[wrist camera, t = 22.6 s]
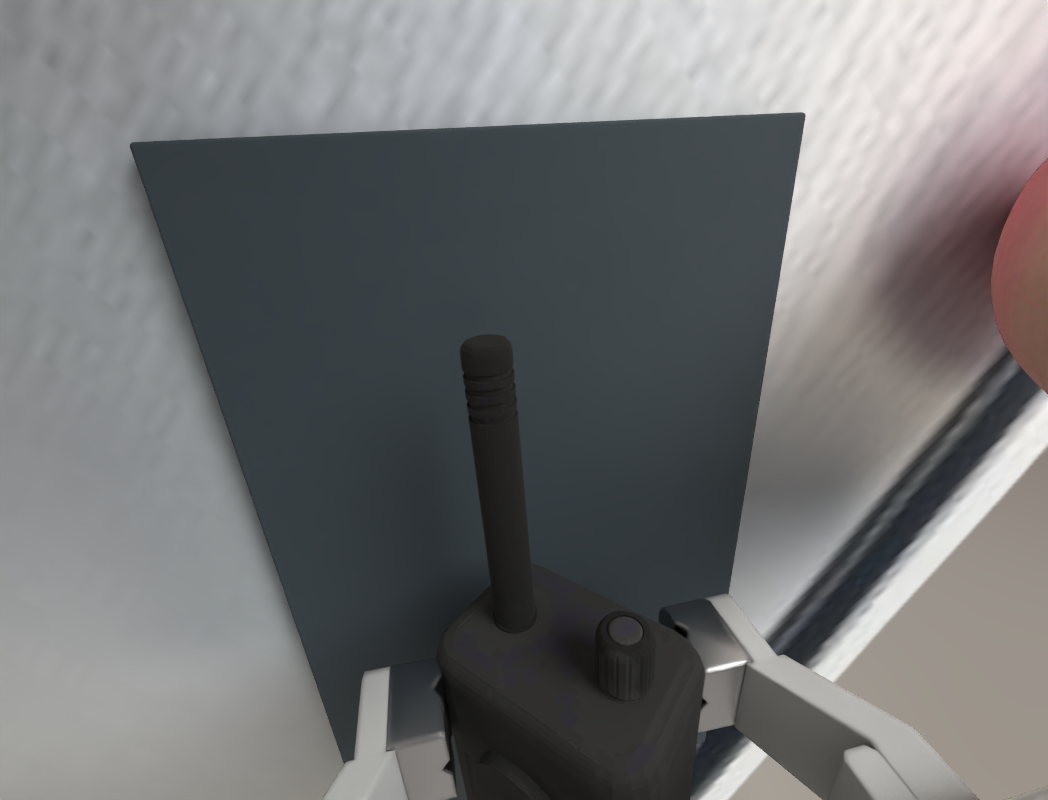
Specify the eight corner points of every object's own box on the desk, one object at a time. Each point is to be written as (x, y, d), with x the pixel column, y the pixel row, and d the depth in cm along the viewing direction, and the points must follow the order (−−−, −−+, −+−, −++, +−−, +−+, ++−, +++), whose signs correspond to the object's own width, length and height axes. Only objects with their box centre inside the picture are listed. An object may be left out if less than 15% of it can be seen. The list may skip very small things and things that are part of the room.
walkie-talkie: (685, 889, 13) (759, 340, 7) (624, 1061, 10) (650, 457, 4) (535, 772, 16) (485, 305, 9) (461, 886, 13) (326, 364, 7)
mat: (698, 728, 18) (705, 742, 18) (368, 814, 17) (366, 832, 16) (790, 115, 10) (807, 111, 10) (142, 143, 8) (127, 142, 8)
